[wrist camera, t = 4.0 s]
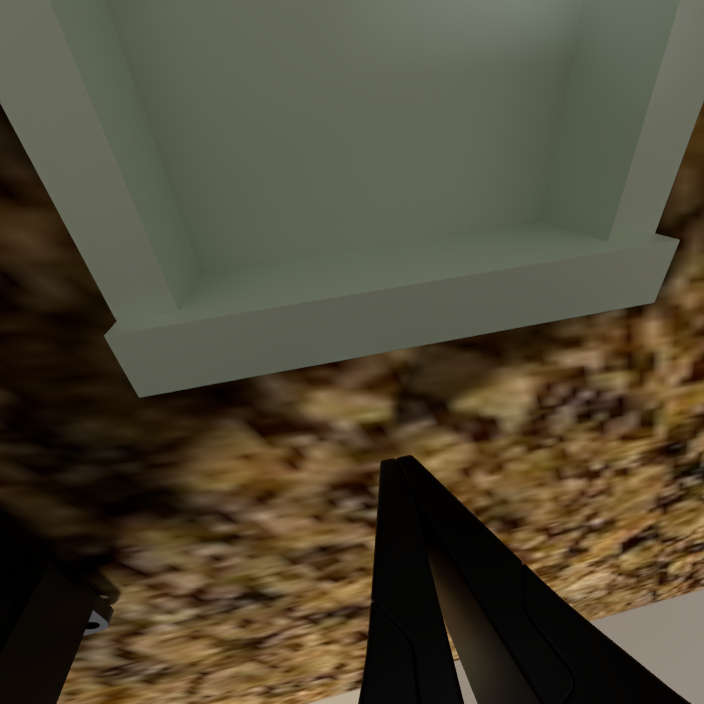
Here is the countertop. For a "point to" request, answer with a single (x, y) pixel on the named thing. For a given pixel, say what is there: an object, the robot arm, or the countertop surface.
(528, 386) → the countertop surface
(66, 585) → the robot arm
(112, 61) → the tray shell
